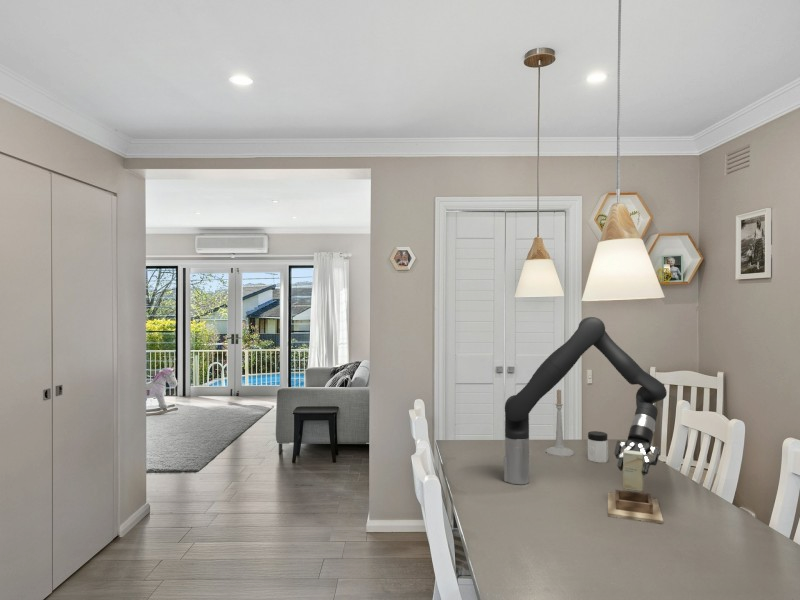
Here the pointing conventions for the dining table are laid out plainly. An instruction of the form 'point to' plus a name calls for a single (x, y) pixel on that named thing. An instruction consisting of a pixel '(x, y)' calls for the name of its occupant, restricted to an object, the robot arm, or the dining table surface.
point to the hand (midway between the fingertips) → (631, 471)
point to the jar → (597, 447)
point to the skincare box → (632, 470)
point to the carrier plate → (634, 506)
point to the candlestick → (559, 433)
